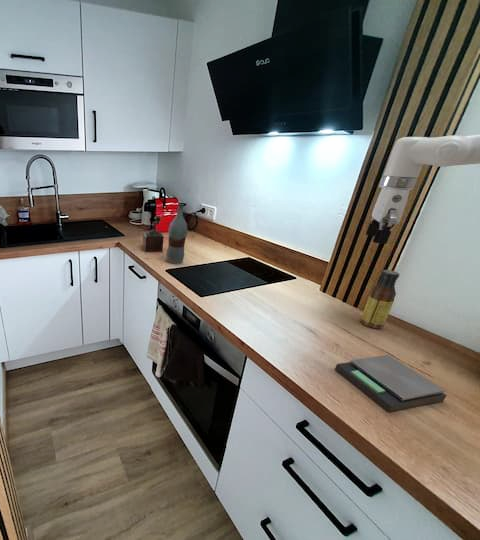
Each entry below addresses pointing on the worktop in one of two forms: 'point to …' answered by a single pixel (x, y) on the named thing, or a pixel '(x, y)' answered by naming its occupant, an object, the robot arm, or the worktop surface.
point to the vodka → (177, 238)
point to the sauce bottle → (380, 300)
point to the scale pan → (396, 377)
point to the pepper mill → (153, 239)
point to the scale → (382, 390)
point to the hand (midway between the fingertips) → (375, 239)
